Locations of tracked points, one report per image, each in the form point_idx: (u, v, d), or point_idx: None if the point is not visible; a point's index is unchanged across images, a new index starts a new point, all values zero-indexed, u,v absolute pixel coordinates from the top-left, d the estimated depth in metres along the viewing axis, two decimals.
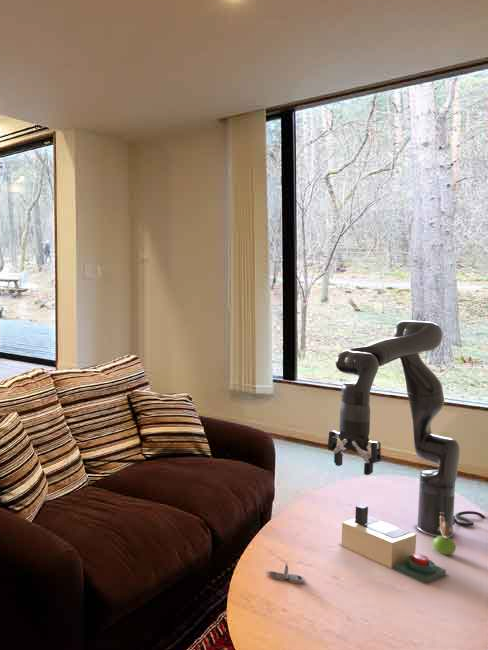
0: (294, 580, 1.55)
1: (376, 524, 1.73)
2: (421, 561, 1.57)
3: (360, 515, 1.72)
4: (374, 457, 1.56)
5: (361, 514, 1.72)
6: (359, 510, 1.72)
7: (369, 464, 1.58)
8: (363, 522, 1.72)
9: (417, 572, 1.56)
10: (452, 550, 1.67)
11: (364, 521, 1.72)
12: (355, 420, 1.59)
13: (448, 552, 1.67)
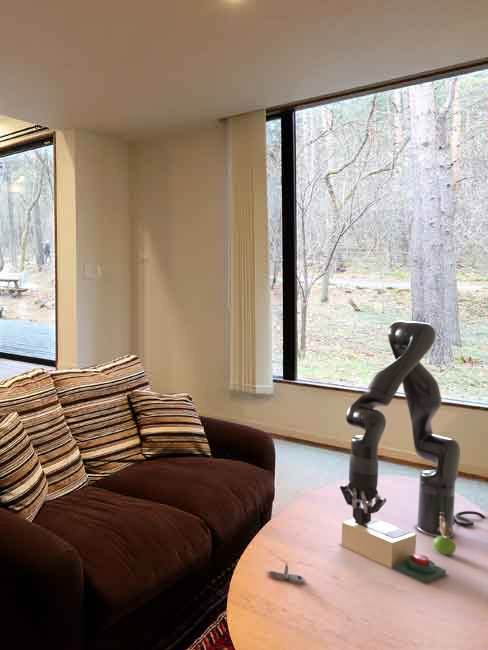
0: (294, 580, 1.55)
1: (376, 524, 1.73)
2: (421, 561, 1.57)
3: (360, 515, 1.72)
4: (373, 509, 1.68)
5: (361, 514, 1.72)
6: (359, 510, 1.72)
7: (367, 514, 1.71)
8: None
9: (417, 572, 1.56)
10: (452, 550, 1.67)
11: None
12: (364, 473, 1.69)
13: (448, 552, 1.67)
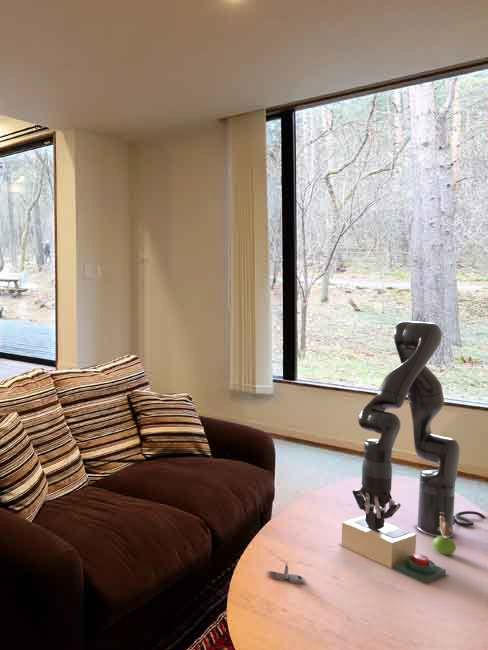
0: (294, 580, 1.55)
1: None
2: (421, 561, 1.57)
3: (373, 520, 1.68)
4: (387, 515, 1.65)
5: (374, 519, 1.68)
6: (373, 515, 1.68)
7: (380, 519, 1.67)
8: None
9: (417, 572, 1.56)
10: (452, 550, 1.67)
11: None
12: (377, 477, 1.65)
13: (448, 552, 1.67)
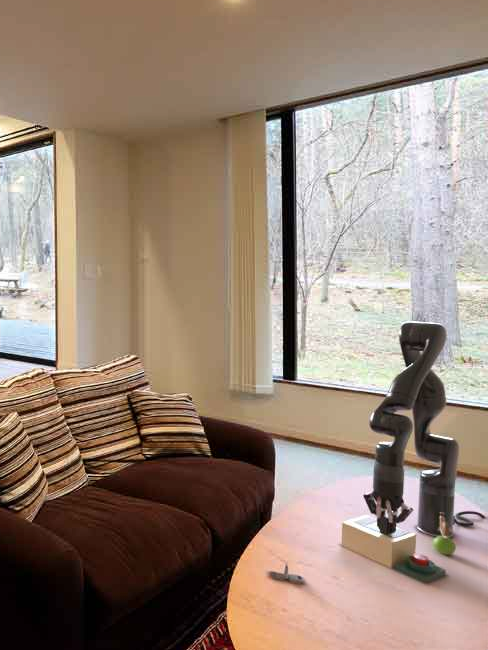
0: (294, 580, 1.55)
1: (376, 524, 1.73)
2: (421, 561, 1.57)
3: (385, 525, 1.65)
4: (399, 519, 1.62)
5: (386, 524, 1.65)
6: (384, 519, 1.65)
7: (392, 524, 1.64)
8: None
9: (417, 572, 1.56)
10: (452, 550, 1.67)
11: None
12: (389, 481, 1.62)
13: (448, 552, 1.67)
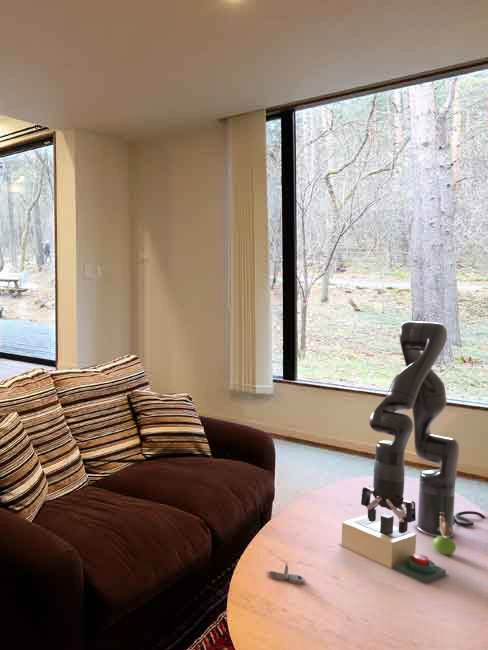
0: (294, 580, 1.55)
1: (376, 524, 1.73)
2: (421, 561, 1.57)
3: (385, 525, 1.65)
4: (409, 517, 1.59)
5: (386, 524, 1.65)
6: (385, 519, 1.65)
7: (404, 523, 1.61)
8: (388, 532, 1.65)
9: (417, 572, 1.56)
10: (452, 550, 1.67)
11: (389, 531, 1.65)
12: (390, 480, 1.62)
13: (448, 552, 1.67)
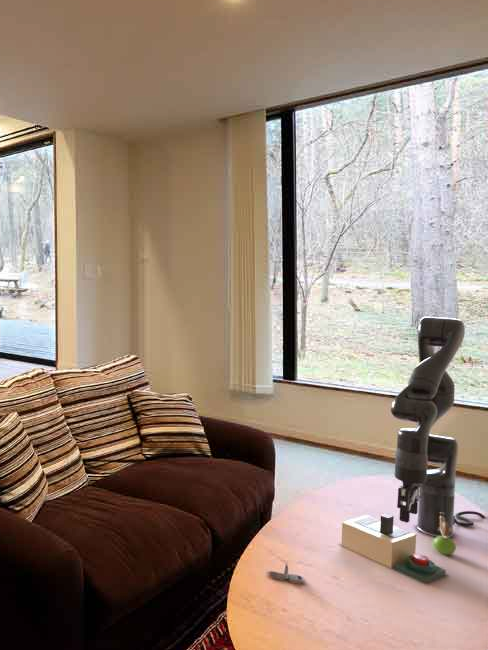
0: (294, 580, 1.55)
1: (376, 524, 1.73)
2: (421, 561, 1.57)
3: (385, 525, 1.65)
4: None
5: (386, 524, 1.65)
6: (385, 519, 1.65)
7: (401, 510, 1.58)
8: (388, 532, 1.65)
9: (417, 572, 1.56)
10: (452, 550, 1.67)
11: (389, 531, 1.65)
12: (396, 463, 1.61)
13: (448, 552, 1.67)
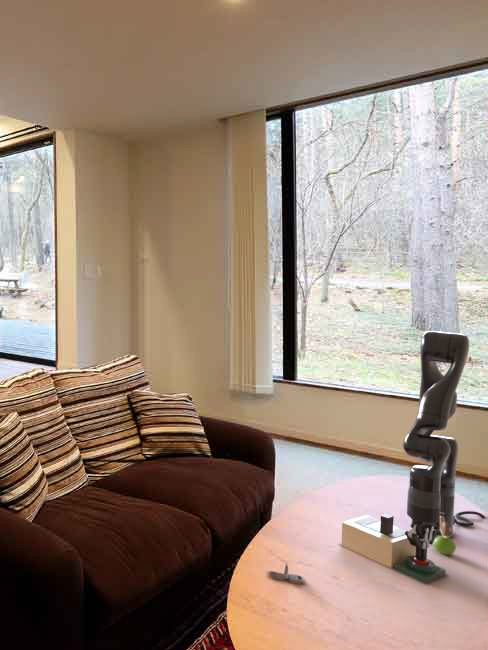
0: (294, 580, 1.55)
1: (376, 524, 1.73)
2: (421, 563, 1.58)
3: (385, 525, 1.65)
4: None
5: (386, 524, 1.65)
6: (385, 519, 1.65)
7: (416, 548, 1.59)
8: (388, 532, 1.65)
9: (417, 572, 1.56)
10: (452, 550, 1.67)
11: (389, 531, 1.65)
12: (407, 499, 1.59)
13: (448, 552, 1.67)
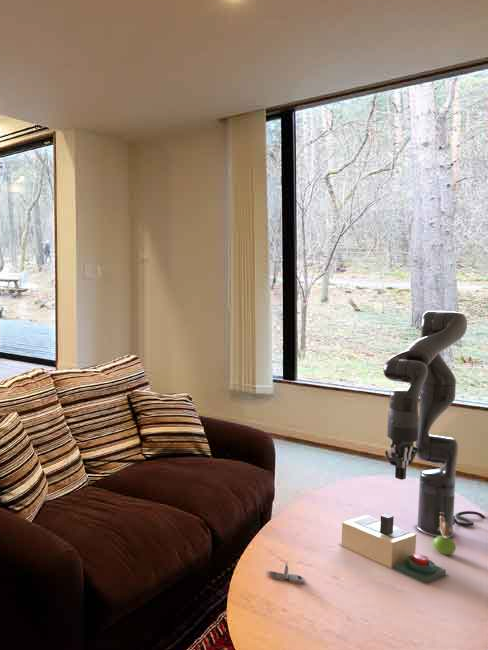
0: (294, 580, 1.55)
1: (376, 524, 1.73)
2: (421, 561, 1.57)
3: (385, 525, 1.65)
4: None
5: (386, 524, 1.65)
6: (385, 519, 1.65)
7: (396, 467, 1.66)
8: (388, 532, 1.65)
9: (417, 572, 1.56)
10: (452, 550, 1.67)
11: (389, 531, 1.65)
12: None
13: (448, 552, 1.67)
